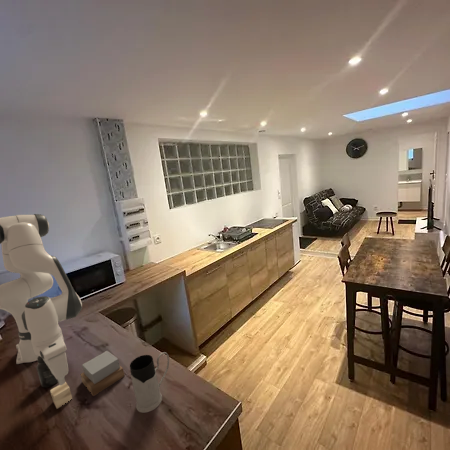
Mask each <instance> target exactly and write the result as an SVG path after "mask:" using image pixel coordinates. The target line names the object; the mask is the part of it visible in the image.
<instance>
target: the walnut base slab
mask: <svg viewBox="0 0 450 450" xmlns="http://www.w3.org/2000/svg"><path fill="white" fill-rule="evenodd" d="M125 376H126V375H125V371H124V368H123V367H122V366H121V365H120V368H119V369H118V370H116V371H115V372H113V373H111V374H110V375H108V376H107V377H105V378H104V379H102V380H101V381H99V382H97V383H96V384H94V383H93V382H92V381H91V380H90V379H89V378H88V377H87V376H86V375H85V374H84V371H83V372H82V373H80V379H81V382H82V384H83V385H84V386H85V388H86V387H87V388H86V389H87V390H88V392H89V393H90V392H91V393H90V394H91V396H93V397H95V396H96V395H98V394H99V392H100V393H101V392H103V391H104V390H106V389H107V388H109V387H110V386H112V385H114V384H115V383H117V382H118V381H120V380H121V379H122V378H124V377H125ZM94 395H95V396H94Z"/></svg>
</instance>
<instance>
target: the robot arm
mask: <svg viewBox="0 0 450 450" xmlns="http://www.w3.org/2000/svg"><path fill="white" fill-rule="evenodd" d="M49 229H50V223H49V221H48V219H47V217H46V216H45V215H44V214H39V213H34V214H15V215H9V216H2V217H0V245H1V254H2V259H3V267H4V268H5V270H6V271H8V272H10V273H14V274H19V275H20V277H18V278H15V279H13V280H11V281H7V282H4V283H2V284H0V310H2V311H5V312H7V313H9V314H11V316H12V317H13V318H14V321H15V322H16V325H17V329H18V338H19V343H17V344H16V345H15V347H16V350H17V356H16V365H19V364H23V363H24V364H25V363H32V362H36V361H38V359H37V358H38V356H40V357H42V358H43V360H44V362H45V363H46V365H47V366H48V367H49V369H50V370H51V373H52V374H53V375H54V376H55V378H56V379H58V382H57V384H58V385H63V384H64V383H65V382H66V379H65V376H67V375H68V374H69V365H68V358H67V353H66V351H67V349H68V348H67V346H66V343H65V338H64V335H63V331H62V328H61V327H60V325H59V323H60V322H62V321H65V320H66V321H67V320H70V319H71V320H72V319H73V318H76V317H77V316H78V315H79V314H80V312H81V311H82V310H83V303H82V300H81V297H80V296H79V295H78V294H77V292H76V291H75V289H74V287H73V286H72V283H71V281H70V279H69V277H68V275H67V273H66V271H65V270H64V268H63V266H62V264H61V263H60V261H59V259H58V258H57V257H56V256H54V255H50V254H49V253H48V252H47V251H46V249H45V246H44V243H43V240H42V238H43V237H45V236H46V235H48V234H49V231H50V230H49ZM53 278H54V279H55V281H56V283H57V285H58V287H59V289H60V291H61V293H60V294H59V295H57V296H54V297H49V296H45V295H44V296H43V295H42V294H44V293H45V292H47V291H49V290H50V289H52V287H53V286H54V279H53ZM40 295H42V296H40Z"/></svg>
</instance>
